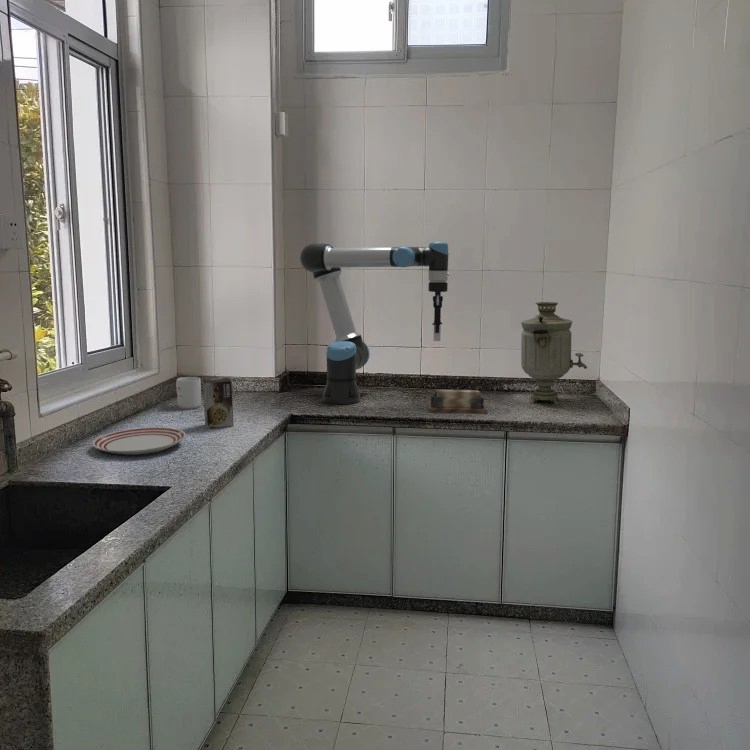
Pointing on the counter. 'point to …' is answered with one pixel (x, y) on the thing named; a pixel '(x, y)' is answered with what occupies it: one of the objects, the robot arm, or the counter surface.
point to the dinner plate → (139, 440)
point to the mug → (189, 392)
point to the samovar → (547, 350)
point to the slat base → (475, 407)
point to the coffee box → (218, 402)
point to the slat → (457, 397)
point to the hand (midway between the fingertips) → (436, 340)
